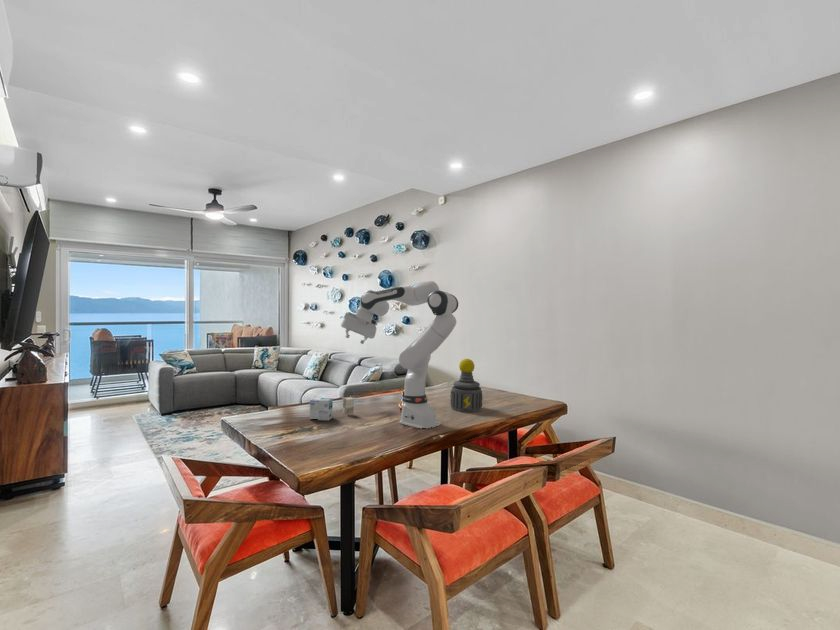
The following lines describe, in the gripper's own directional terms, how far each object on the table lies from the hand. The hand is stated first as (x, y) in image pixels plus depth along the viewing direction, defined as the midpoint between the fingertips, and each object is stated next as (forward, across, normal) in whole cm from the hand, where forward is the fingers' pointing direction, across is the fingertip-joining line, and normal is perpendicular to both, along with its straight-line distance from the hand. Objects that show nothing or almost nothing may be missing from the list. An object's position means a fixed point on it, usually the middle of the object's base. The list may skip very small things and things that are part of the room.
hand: (354, 340), depth 235 cm
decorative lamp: (+16, +75, -18) cm, 78 cm away
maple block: (+39, +12, +2) cm, 41 cm away
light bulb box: (+45, -3, 0) cm, 45 cm away
